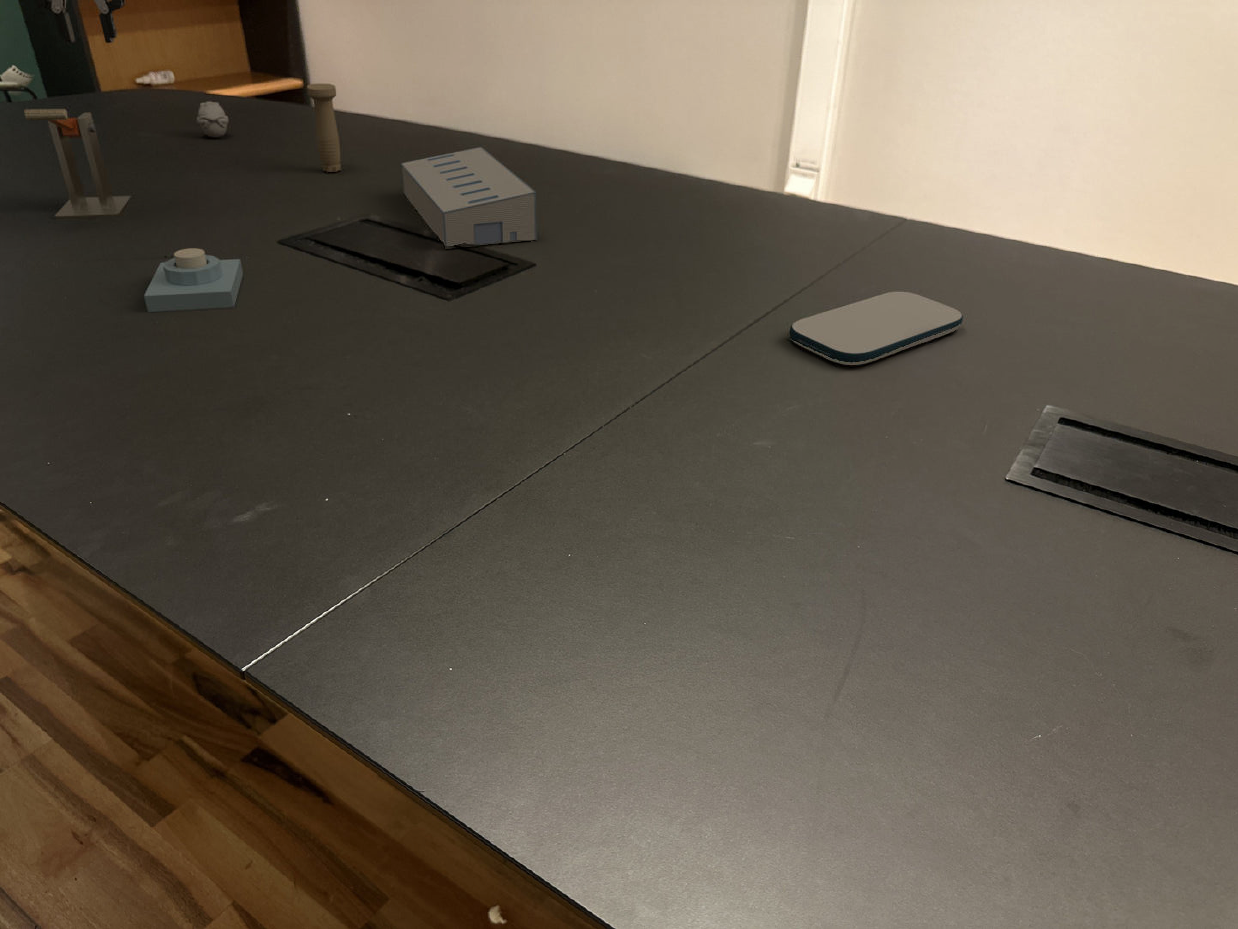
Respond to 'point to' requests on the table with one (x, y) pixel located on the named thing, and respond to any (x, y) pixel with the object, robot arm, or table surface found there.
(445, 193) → the warehouse
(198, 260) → the button
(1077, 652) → the table surface
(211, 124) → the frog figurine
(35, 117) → the lever
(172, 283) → the button box
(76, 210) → the bracket
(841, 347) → the external hard drive
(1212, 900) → the table surface
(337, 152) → the handle
